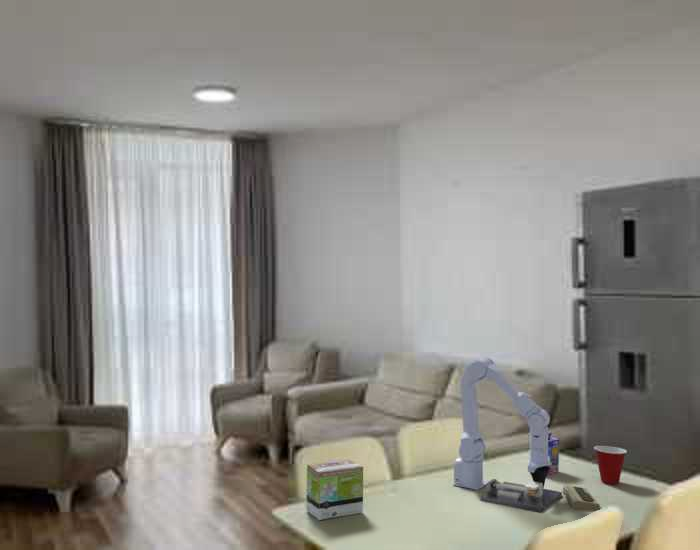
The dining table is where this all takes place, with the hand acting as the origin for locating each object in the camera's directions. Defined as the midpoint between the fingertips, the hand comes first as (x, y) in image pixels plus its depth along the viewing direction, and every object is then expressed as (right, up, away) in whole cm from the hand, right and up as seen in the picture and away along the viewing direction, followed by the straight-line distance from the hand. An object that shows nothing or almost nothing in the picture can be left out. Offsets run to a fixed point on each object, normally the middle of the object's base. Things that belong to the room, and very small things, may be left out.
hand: (539, 489), depth 233 cm
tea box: (-67, -3, -13) cm, 68 cm away
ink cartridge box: (+9, -2, +27) cm, 29 cm away
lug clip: (-3, -1, -4) cm, 5 cm away
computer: (+12, -3, -5) cm, 13 cm away
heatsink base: (-6, -3, -1) cm, 7 cm away
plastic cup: (+29, -2, +14) cm, 32 cm away
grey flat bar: (-8, 0, -2) cm, 9 cm away
